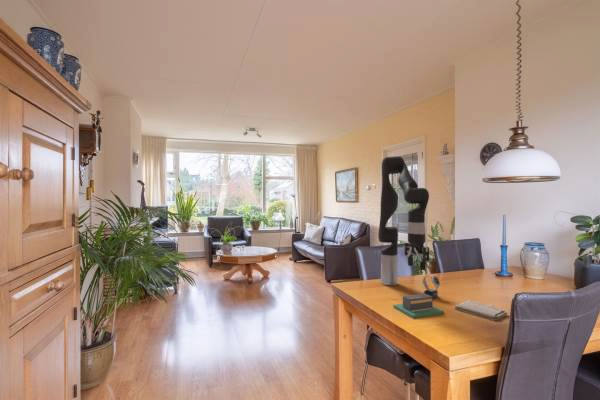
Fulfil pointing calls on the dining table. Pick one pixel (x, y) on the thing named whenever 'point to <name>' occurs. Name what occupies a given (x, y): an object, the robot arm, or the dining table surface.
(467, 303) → the washcloth
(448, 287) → the dining table surface
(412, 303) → the grey rectangular block
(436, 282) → the watch
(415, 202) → the robot arm
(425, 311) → the board
